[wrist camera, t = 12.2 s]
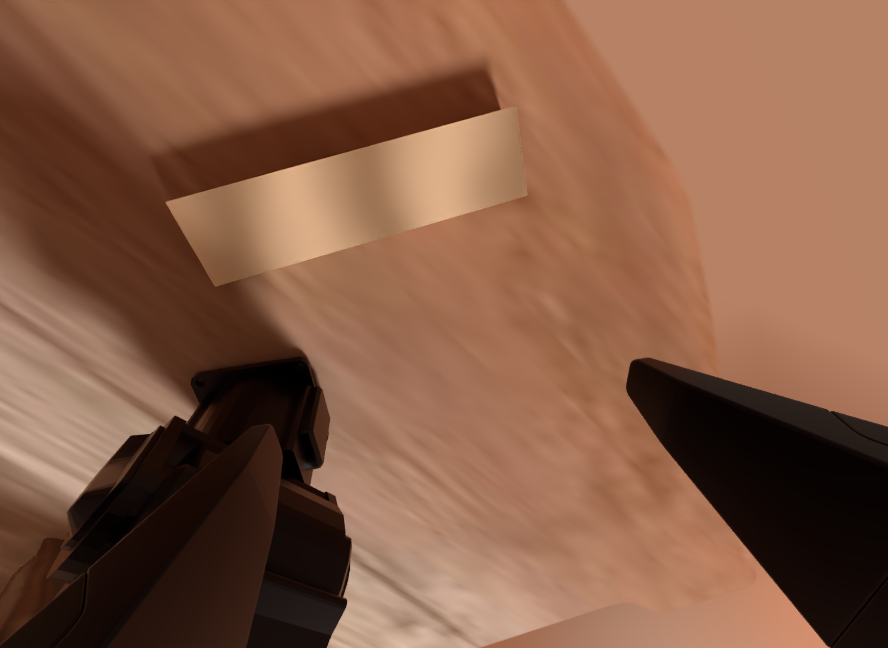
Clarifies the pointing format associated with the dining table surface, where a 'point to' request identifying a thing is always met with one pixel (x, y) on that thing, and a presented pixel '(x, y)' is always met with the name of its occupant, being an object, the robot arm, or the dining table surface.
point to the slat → (354, 197)
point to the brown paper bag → (29, 589)
